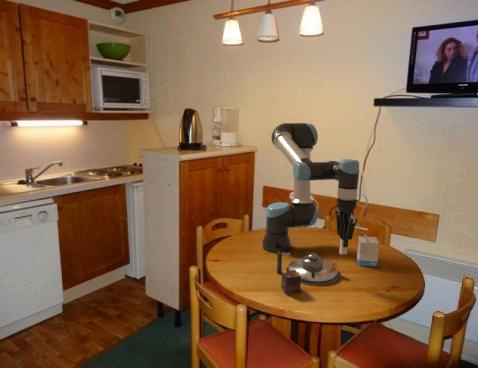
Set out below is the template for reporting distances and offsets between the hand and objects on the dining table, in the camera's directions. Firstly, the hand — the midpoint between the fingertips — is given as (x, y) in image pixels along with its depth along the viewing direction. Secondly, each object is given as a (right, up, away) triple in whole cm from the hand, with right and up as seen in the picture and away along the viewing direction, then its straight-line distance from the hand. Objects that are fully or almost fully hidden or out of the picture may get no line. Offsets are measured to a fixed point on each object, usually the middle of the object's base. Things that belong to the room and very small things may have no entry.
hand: (343, 253), depth 143 cm
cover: (-11, -8, +10) cm, 17 cm away
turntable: (-11, -11, +10) cm, 18 cm away
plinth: (-11, -11, +10) cm, 18 cm away
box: (-23, -14, -5) cm, 27 cm away
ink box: (+18, -9, +22) cm, 29 cm away
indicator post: (-24, -11, +10) cm, 28 cm away
